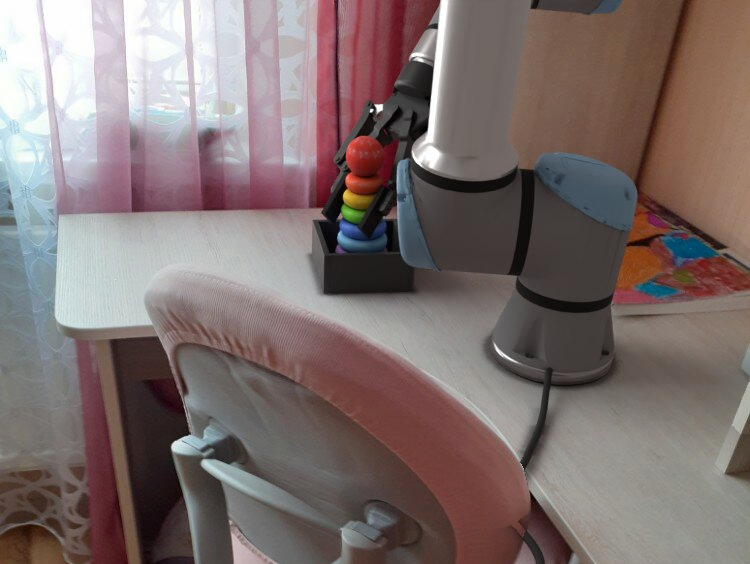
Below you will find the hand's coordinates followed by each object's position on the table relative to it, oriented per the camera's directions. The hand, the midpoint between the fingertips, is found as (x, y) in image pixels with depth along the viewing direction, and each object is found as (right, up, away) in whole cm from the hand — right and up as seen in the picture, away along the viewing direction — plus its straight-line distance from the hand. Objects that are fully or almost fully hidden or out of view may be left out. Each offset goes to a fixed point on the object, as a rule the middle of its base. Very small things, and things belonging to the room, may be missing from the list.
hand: (345, 225), depth 115 cm
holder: (+2, -5, +7) cm, 9 cm away
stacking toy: (+2, -5, +7) cm, 9 cm away
